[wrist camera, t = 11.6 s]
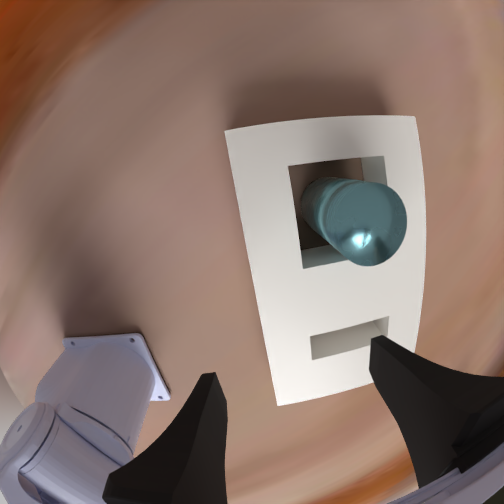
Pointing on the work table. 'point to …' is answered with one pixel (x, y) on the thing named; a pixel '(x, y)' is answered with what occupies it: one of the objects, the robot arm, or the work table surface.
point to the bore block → (328, 251)
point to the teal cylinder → (356, 218)
